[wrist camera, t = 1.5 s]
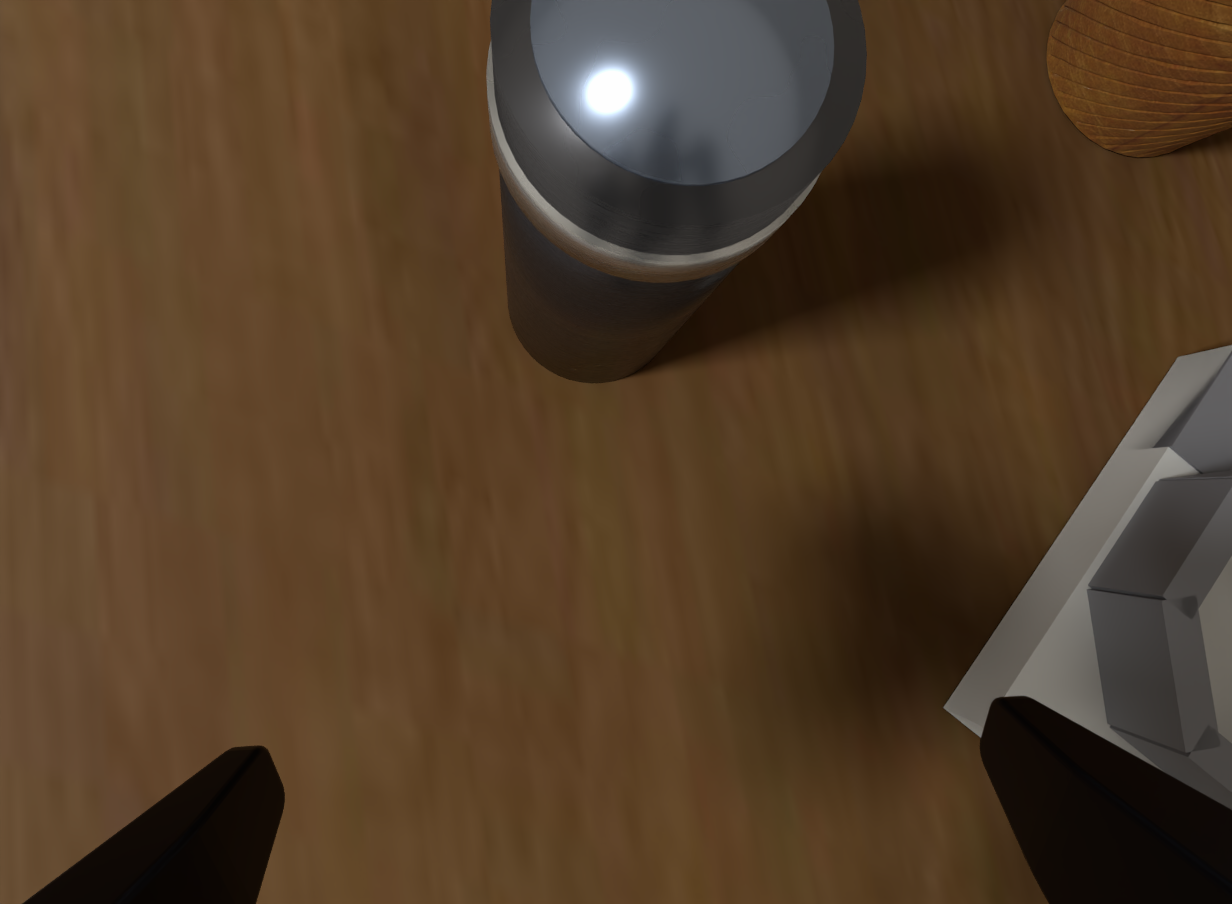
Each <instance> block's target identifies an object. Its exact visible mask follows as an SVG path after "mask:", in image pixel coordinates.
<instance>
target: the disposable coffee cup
mask: <svg viewBox="0 0 1232 904" xmlns="http://www.w3.org/2000/svg"><path fill="white" fill-rule="evenodd" d="M1047 66H1048V73H1049V79H1050V82H1051V85H1052V88H1053V91H1054V94H1055V96H1056V98H1057V100H1058V102H1059V104H1060V106H1061V108H1062V109H1063V111H1064V113H1065V114H1066V115H1067V116H1068V118H1069V119H1070V120H1071V121H1072V122H1073V124H1074V125H1075V126H1076V127H1077V129H1078V130H1080V131H1081V132H1082V133H1083V134H1084V135H1085V136H1086V137H1087V138H1089V139H1090V140H1092V141H1093V142H1095V143H1097V144H1098V145H1100V146H1101V147H1103V148H1105V149H1108V150H1111V151H1113V152H1116V153H1119V154H1122V155H1126V156H1132V157H1155V156H1159V155H1162V154H1166V153H1170V152H1172V151H1174V150H1176V149H1178V148H1181V147H1183V146H1186V145H1188V144H1191V143H1193V142H1196V141H1198V140H1201V139H1203V138H1206V137H1209V136H1211V135H1213V134H1216V133H1218V132H1221V131H1224V130H1226V129H1229V128H1232V0H1067V1H1066V2H1065V4H1064V5H1063V6H1062V7H1061V9H1060V10H1059V11H1058V14H1057V16H1056V18H1055V20H1054V22H1053V25H1052V27H1051V30H1050V34H1049V38H1048V42H1047Z"/></svg>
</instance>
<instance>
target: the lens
mask: <svg viewBox="0 0 1232 904" xmlns="http://www.w3.org/2000/svg"><path fill="white" fill-rule="evenodd" d="M490 26H491V43H490V47H489V52H488V63H487V95H488V108H489V120H490V132H491V138H492V143H493V149H494V154H495V157H496V160H497V163H498V166H499V172H500V187H501V203H502V219H503V234H504V250H505V265H506V281H507V297H508V309H509V314H510V319H511V322H512V325H513V328H514V331H515V333H516V335H517V337H518V339H519V340H520V342H521V343H522V345H523V347H524V348H525V349H526V350H527V352H528V353H529V354H530V355H531V356H532V357H533V358H534V359H535V360H536V361H537V362H538V363H539V364H541V365H542V366H543V367H545V368H546V369H548V370H549V371H551V372H553V373H555V374H557V375H559V376H561V377H564V378H566V379H569V380H573V381H578V382H584V383H604V382H610V381H615V380H618V379H622V378H624V377H627V376H629V375H631V374H633V373H635V372H636V371H638V370H640V369H641V368H643V367H644V366H645V365H646V364H647V363H649V362H650V361H651V360H652V359H653V358H654V357H655V355H656V354H657V353H658V352H659V351H660V350H661V349H662V348H663V347H664V346H665V344H666V343H667V342H668V341H669V340H670V339H671V338H672V337H673V336H674V334H675V333H676V332H677V331H678V330H679V329H680V328H681V327H682V326H683V324H684V323H685V322H686V321H687V320H688V319H689V318H690V317H691V316H692V314H693V313H694V312H695V311H696V310H697V309H698V308H699V307H700V306H701V304H702V303H703V302H704V301H705V300H706V299H707V298H708V297H709V296H710V294H711V293H712V292H713V291H714V290H715V289H716V288H717V287H718V286H719V285H720V283H721V282H722V281H723V280H724V279H725V278H726V277H727V276H728V275H729V273H730V272H731V271H732V270H733V269H734V268H735V267H736V266H737V265H738V263H739V262H740V261H741V260H743V259H745V258H746V257H748V256H750V255H751V254H752V253H753V252H755V251H756V250H757V249H758V248H759V247H761V246H762V245H763V244H764V243H765V242H767V240H768V239H769V238H770V237H771V236H772V235H773V234H774V233H775V232H776V231H777V230H778V229H779V228H780V227H781V225H782V224H783V223H784V222H785V221H786V220H787V219H788V218H789V217H790V216H791V215H792V214H793V212H794V211H795V210H796V209H797V208H798V207H799V206H800V205H801V204H802V203H803V201H804V200H805V198H806V197H807V195H808V194H809V192H810V191H811V189H812V188H813V186H814V185H815V183H816V181H817V179H818V177H819V175H820V173H821V171H822V170H823V169H824V168H825V167H826V166H827V165H828V164H829V163H830V161H831V160H832V159H833V157H834V156H835V154H836V153H837V151H838V150H839V148H840V147H841V145H842V144H843V143H844V141H845V139H846V137H847V135H848V133H849V131H850V129H851V127H852V125H853V123H854V120H855V117H856V114H857V111H858V108H859V105H860V102H861V98H862V93H863V87H864V82H865V76H866V56H867V52H866V40H865V29H864V24H863V20H862V15H861V10H860V6H859V3H858V0H492V5H491V16H490Z"/></svg>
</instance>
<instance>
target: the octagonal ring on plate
mask: <svg viewBox="0 0 1232 904" xmlns="http://www.w3.org/2000/svg"><path fill="white" fill-rule="evenodd" d="M1008 696H1028V697H1030V698H1032V699H1034V700H1036V701H1038V702H1040V703H1042V704H1043V705H1045V706H1047V707H1049V708H1051V709H1052V710H1054V711H1056V712H1058V713H1060V714H1061V715H1063V716H1065V717H1067V718H1069V719H1070V720H1072V721H1074V722H1076V723H1078V724H1079V725H1081V726H1083V727H1085V728H1087V729H1088V730H1090V731H1092V732H1094V733H1095V734H1097V735H1099V736H1101V737H1103V738H1104V739H1106V740H1108V741H1110V742H1112V743H1113V744H1115V745H1117V746H1119V747H1121V748H1122V749H1124V750H1126V751H1128V752H1130V753H1131V754H1133V755H1135V756H1137V757H1139V758H1140V759H1142V760H1144V761H1146V762H1148V763H1149V764H1151V765H1153V766H1155V767H1157V768H1158V769H1160V770H1162V771H1164V772H1165V773H1167V774H1169V775H1171V776H1173V777H1174V778H1176V779H1178V780H1180V781H1182V782H1183V783H1185V784H1187V785H1189V786H1191V787H1192V788H1194V789H1196V790H1198V791H1200V792H1201V793H1203V794H1205V795H1207V796H1209V797H1210V798H1212V799H1214V800H1216V801H1218V802H1219V803H1221V804H1223V805H1225V806H1226V807H1228V808H1230V809H1232V345H1230V346H1225V347H1221V348H1216V349H1212V350H1207V351H1203V352H1198V353H1194V354H1190V355H1185V356H1181V357H1178V358H1177V359H1176V361H1175V362H1174V364H1173V365H1172V367H1171V368H1170V370H1169V371H1168V373H1167V374H1166V376H1165V377H1164V379H1163V380H1162V382H1161V383H1160V385H1159V386H1158V388H1157V389H1156V391H1155V392H1154V394H1153V395H1152V397H1151V398H1150V400H1149V401H1148V403H1147V404H1146V406H1145V407H1144V409H1143V410H1142V412H1141V413H1140V415H1139V416H1138V418H1137V419H1136V421H1135V422H1134V424H1133V425H1132V427H1131V428H1130V430H1129V431H1128V433H1127V434H1126V436H1125V437H1124V439H1123V440H1122V442H1121V443H1120V445H1119V446H1118V448H1117V449H1116V451H1115V452H1114V454H1113V455H1112V457H1111V458H1110V460H1109V461H1108V462H1107V464H1106V465H1105V467H1104V468H1103V470H1102V471H1101V473H1100V474H1099V476H1098V477H1097V479H1096V480H1095V482H1094V483H1093V485H1092V486H1091V488H1090V489H1089V491H1088V492H1087V494H1086V495H1085V497H1084V498H1083V500H1082V501H1081V503H1080V504H1079V506H1078V507H1077V509H1076V510H1075V512H1074V513H1073V515H1072V516H1071V518H1070V519H1069V521H1068V522H1067V524H1066V525H1065V527H1064V528H1063V530H1062V531H1061V533H1060V534H1059V536H1058V537H1057V539H1056V540H1055V542H1054V543H1053V545H1052V546H1051V548H1050V549H1049V551H1048V552H1047V554H1046V555H1045V557H1044V558H1043V560H1042V561H1041V563H1040V564H1039V566H1038V567H1037V569H1036V570H1035V571H1034V573H1033V574H1032V576H1031V577H1030V579H1029V580H1028V582H1027V583H1026V585H1025V586H1024V588H1023V589H1022V591H1021V592H1020V594H1019V595H1018V597H1017V598H1016V600H1015V601H1014V603H1013V604H1012V606H1011V607H1010V609H1009V610H1008V612H1007V613H1006V615H1005V616H1004V618H1003V619H1002V621H1001V622H1000V624H999V625H998V627H997V628H996V630H995V631H994V633H993V634H992V636H991V637H990V639H989V640H988V642H987V643H986V645H985V646H984V648H983V649H982V651H981V652H980V654H979V655H978V657H977V658H976V660H975V661H974V663H973V664H972V666H971V667H970V669H969V670H968V672H967V673H966V675H965V676H964V677H963V679H962V680H961V682H960V683H959V685H958V686H957V688H956V689H955V691H954V692H953V694H952V695H951V697H950V698H949V700H948V701H947V703H946V704H945V706H944V707H943V708H944V709H945V710H947V711H948V712H949V713H950V714H952V715H953V716H954V717H955V718H957V719H958V720H959V721H960V722H962V723H963V724H964V725H965V726H967V727H968V728H969V729H970V730H972V731H973V732H974V733H975V734H977V735H978V736H979V737H980V738H981V736H982V732H983V729H984V725H985V722H986V718H987V715H988V711H989V708H990V705H991V702H992V701H993V700H994V699H995V698H998V697H1008Z"/></svg>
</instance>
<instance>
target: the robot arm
mask: <svg viewBox="0 0 1232 904" xmlns="http://www.w3.org/2000/svg"><path fill="white" fill-rule="evenodd" d="M980 753H981V758H982V761H983V764H984V767H985V769H986V771H987V773H988V776H989V778H990V780H991V782H992V785H993V787H994V789H995V791H996V794H997V796H998V798H999V800H1000V803H1001V805H1002V807H1003V809H1004V812H1005V814H1006V816H1007V818H1008V821H1009V823H1010V825H1011V827H1012V830H1013V832H1014V834H1015V836H1016V839H1017V841H1018V843H1019V845H1020V848H1021V850H1022V852H1023V854H1024V857H1025V859H1026V861H1027V863H1028V865H1029V867H1030V869H1031V871H1032V873H1033V875H1034V877H1035V879H1036V881H1037V883H1038V884H1039V886H1040V888H1041V890H1042V892H1043V894H1044V895H1045V897H1046V899H1047V901H1048V902H1049V904H1232V809H1230V808H1228V807H1226V806H1225V805H1223V804H1221V803H1219V802H1218V801H1216V800H1214V799H1212V798H1210V797H1209V796H1207V795H1205V794H1203V793H1201V792H1200V791H1198V790H1196V789H1194V788H1192V787H1191V786H1189V785H1187V784H1185V783H1183V782H1182V781H1180V780H1178V779H1176V778H1174V777H1173V776H1171V775H1169V774H1167V773H1165V772H1164V771H1162V770H1160V769H1158V768H1157V767H1155V766H1153V765H1151V764H1149V763H1148V762H1146V761H1144V760H1142V759H1140V758H1139V757H1137V756H1135V755H1133V754H1131V753H1130V752H1128V751H1126V750H1124V749H1122V748H1121V747H1119V746H1117V745H1115V744H1113V743H1112V742H1110V741H1108V740H1106V739H1104V738H1103V737H1101V736H1099V735H1097V734H1095V733H1094V732H1092V731H1090V730H1088V729H1087V728H1085V727H1083V726H1081V725H1079V724H1078V723H1076V722H1074V721H1072V720H1070V719H1069V718H1067V717H1065V716H1063V715H1061V714H1060V713H1058V712H1056V711H1054V710H1052V709H1051V708H1049V707H1047V706H1045V705H1043V704H1042V703H1040V702H1038V701H1036V700H1034V699H1032V698H1030V697H1028V696H1008V697H998V698H995V699H994V700H993V701H992V702H991V705H990V708H989V711H988V715H987V718H986V722H985V725H984V729H983V732H982V736H981V739H980ZM284 802H285V793H284V787H283V784H282V782H281V779H280V777H279V774H278V772H277V770H276V767H275V765H274V762H273V760H272V758H271V755H270V753H269V751H268V750H267V749H266V748H265V747H264V746H244V747H234V748H231V749H229V750H227V751H226V752H224V753H223V754H222V755H220V756H219V757H218V758H216V759H215V760H214V761H212V762H211V763H210V764H208V765H207V766H206V767H204V768H203V769H201V770H200V771H199V772H197V773H196V774H195V775H193V776H192V777H191V778H189V779H188V780H187V781H185V782H184V783H183V784H181V785H180V786H179V787H177V788H176V789H175V790H173V791H172V792H171V793H169V794H168V795H167V796H165V797H164V798H163V799H161V800H160V801H159V802H157V803H156V804H155V805H153V806H152V807H151V808H149V809H148V810H147V811H145V812H144V813H143V814H141V815H140V816H139V817H137V818H136V819H135V820H133V821H132V822H131V823H129V824H128V825H127V826H125V827H124V828H123V829H121V830H120V831H119V832H117V833H116V834H115V835H113V836H112V837H111V838H109V839H108V840H107V841H105V842H104V843H103V844H101V845H100V846H99V847H97V848H96V849H95V850H93V851H92V852H91V853H89V854H88V855H87V856H85V857H84V858H83V859H81V860H80V861H79V862H77V863H76V864H75V865H73V866H72V867H71V868H69V869H68V870H67V871H65V872H64V873H62V874H61V875H60V876H58V877H57V878H56V879H54V880H53V881H52V882H50V883H49V884H48V885H46V886H45V887H44V888H42V889H41V890H40V891H38V892H37V893H36V894H34V895H33V896H32V897H30V898H29V899H28V900H26V901H25V902H24V903H22V904H256V902H257V898H258V895H259V891H260V888H261V885H262V881H263V878H264V874H265V871H266V868H267V864H268V861H269V857H270V854H271V851H272V847H273V844H274V840H275V837H276V834H277V830H278V827H279V823H280V820H281V816H282V813H283V809H284Z"/></svg>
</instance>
